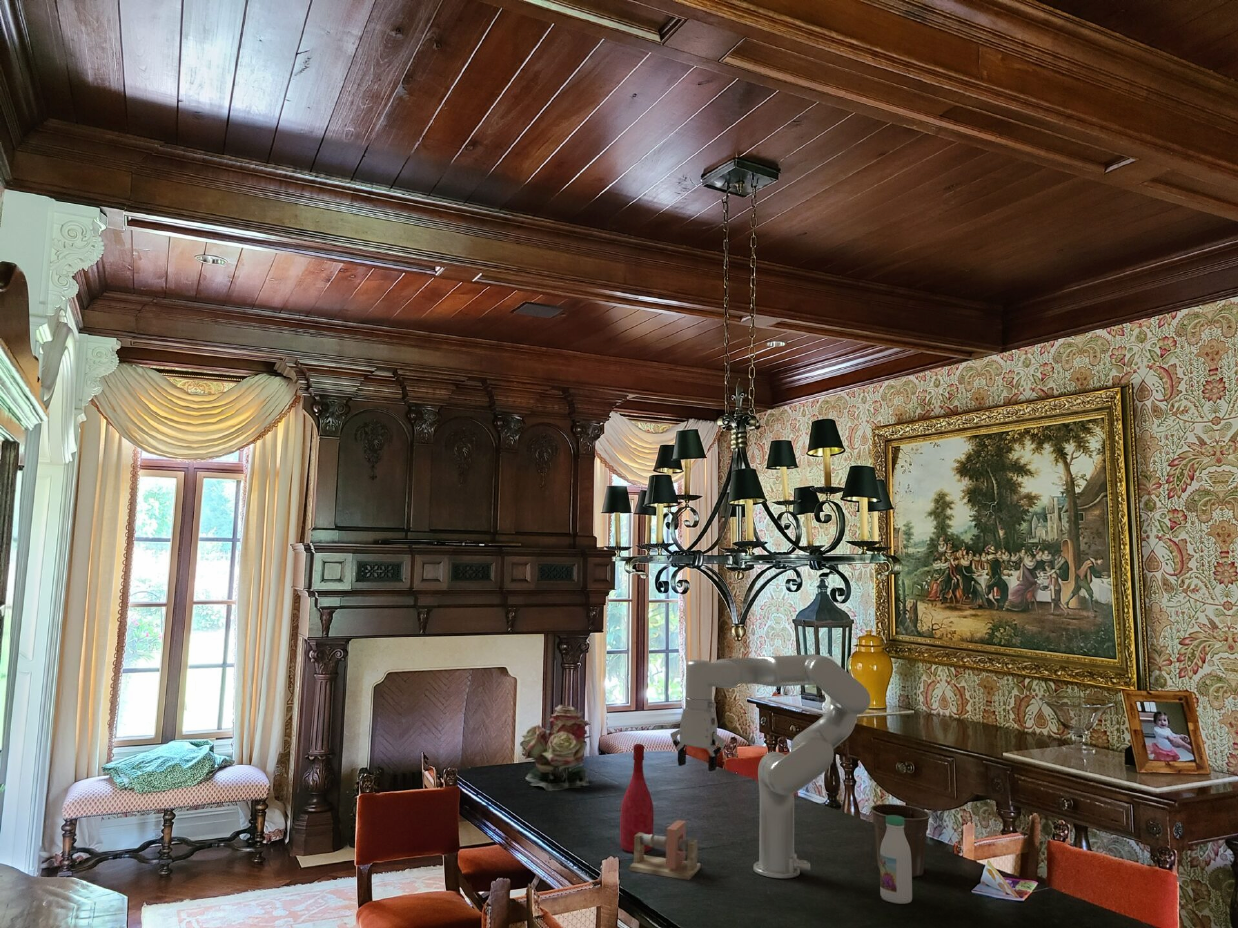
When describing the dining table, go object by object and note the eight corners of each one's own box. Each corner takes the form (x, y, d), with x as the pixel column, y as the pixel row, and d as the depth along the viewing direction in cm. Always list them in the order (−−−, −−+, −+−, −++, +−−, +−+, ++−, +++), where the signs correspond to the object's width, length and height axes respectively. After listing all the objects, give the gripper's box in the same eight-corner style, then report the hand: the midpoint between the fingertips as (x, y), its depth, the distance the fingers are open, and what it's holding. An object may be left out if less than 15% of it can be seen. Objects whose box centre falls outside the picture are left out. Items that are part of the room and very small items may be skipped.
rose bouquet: (512, 778, 342) (516, 701, 347) (580, 774, 354) (583, 699, 358) (531, 793, 319) (535, 710, 323) (604, 788, 330) (606, 708, 334)
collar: (685, 858, 239) (685, 820, 241) (674, 868, 230) (675, 829, 232) (676, 857, 240) (677, 819, 242) (665, 867, 231) (666, 828, 233)
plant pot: (942, 872, 241) (941, 812, 243) (914, 884, 230) (913, 821, 232) (889, 857, 253) (888, 800, 255) (860, 868, 242) (859, 808, 244)
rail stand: (700, 867, 238) (700, 835, 239) (689, 879, 228) (689, 845, 229) (642, 859, 244) (643, 827, 245) (629, 870, 234) (630, 837, 235)
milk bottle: (905, 893, 222) (904, 813, 225) (916, 904, 214) (915, 820, 217) (876, 893, 222) (875, 812, 225) (886, 904, 214) (885, 820, 217)
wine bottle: (624, 854, 248) (627, 747, 252) (615, 844, 257) (618, 741, 262) (657, 852, 250) (659, 746, 255) (647, 843, 260) (649, 740, 264)
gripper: (732, 707, 240) (730, 770, 238) (679, 700, 250) (677, 761, 248) (719, 709, 234) (717, 774, 232) (665, 702, 244) (663, 764, 242)
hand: (696, 767), depth 240 cm, fingers open, 9 cm apart
